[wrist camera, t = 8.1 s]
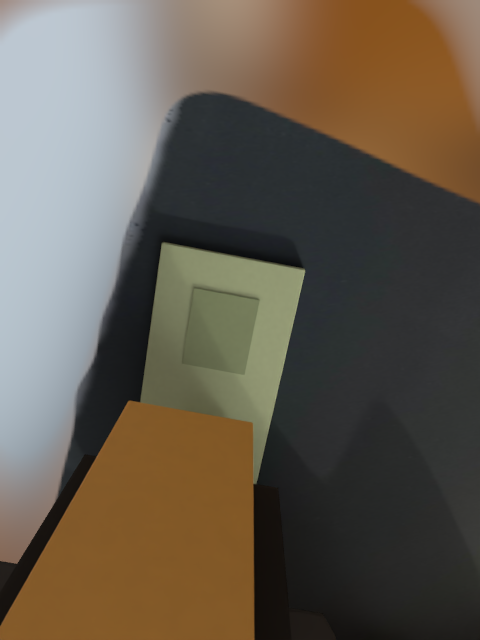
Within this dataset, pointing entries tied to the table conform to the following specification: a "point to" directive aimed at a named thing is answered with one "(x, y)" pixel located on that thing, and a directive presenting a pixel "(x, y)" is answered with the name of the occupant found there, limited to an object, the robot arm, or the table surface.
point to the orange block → (151, 538)
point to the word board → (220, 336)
